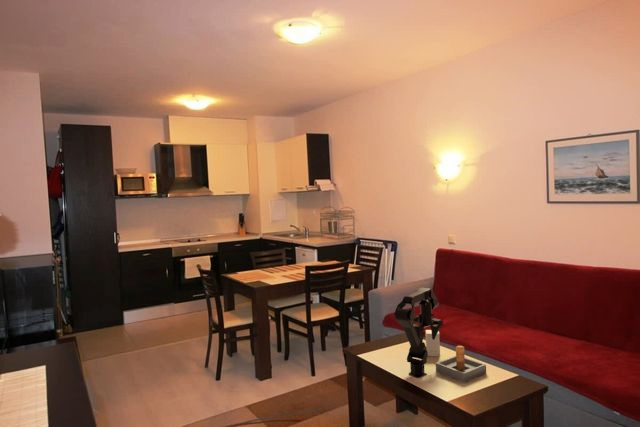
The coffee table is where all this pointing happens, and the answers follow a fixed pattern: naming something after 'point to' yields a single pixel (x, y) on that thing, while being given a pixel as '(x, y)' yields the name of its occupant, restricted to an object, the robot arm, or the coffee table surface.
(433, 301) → the robot arm
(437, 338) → the supplement box
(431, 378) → the coffee table surface
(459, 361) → the orange peg
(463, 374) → the socket box
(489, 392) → the coffee table surface
